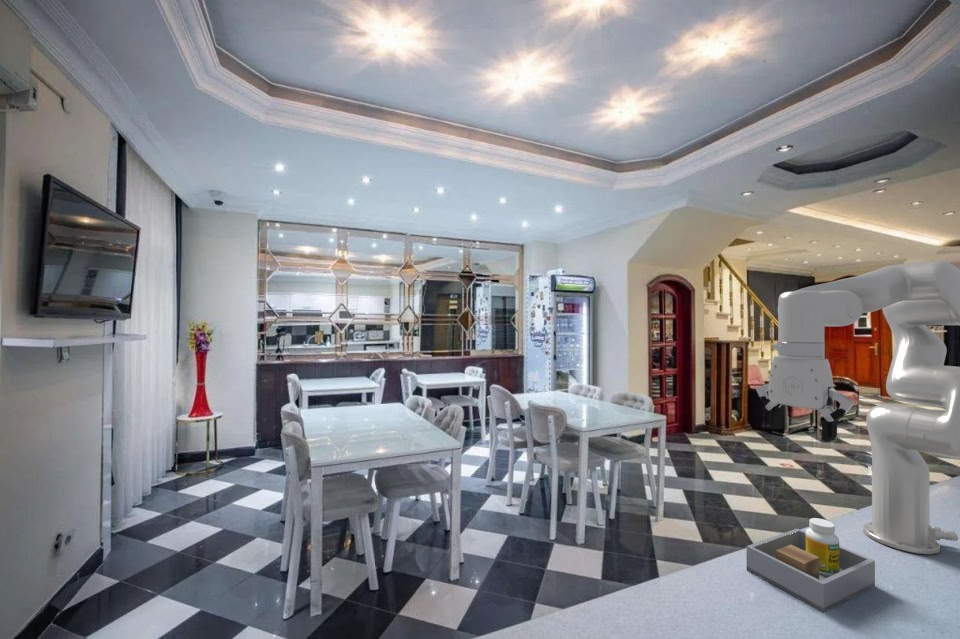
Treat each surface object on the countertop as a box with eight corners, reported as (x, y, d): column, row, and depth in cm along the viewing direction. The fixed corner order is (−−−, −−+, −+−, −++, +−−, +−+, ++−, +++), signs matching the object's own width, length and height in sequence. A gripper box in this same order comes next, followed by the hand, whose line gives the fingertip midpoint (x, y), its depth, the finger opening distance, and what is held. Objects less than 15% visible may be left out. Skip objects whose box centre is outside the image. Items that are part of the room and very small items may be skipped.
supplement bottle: (813, 559, 88) (812, 514, 88) (844, 572, 83) (844, 524, 83) (800, 566, 86) (800, 519, 86) (832, 580, 81) (831, 531, 81)
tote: (797, 550, 93) (797, 528, 93) (874, 586, 80) (874, 560, 80) (746, 570, 86) (746, 546, 86) (823, 612, 73) (823, 584, 73)
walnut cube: (790, 569, 85) (790, 544, 85) (819, 583, 80) (819, 557, 80) (775, 575, 83) (775, 550, 83) (804, 590, 78) (804, 563, 78)
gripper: (746, 348, 91) (746, 426, 91) (841, 355, 76) (841, 448, 76) (768, 347, 94) (768, 422, 94) (863, 353, 79) (863, 443, 79)
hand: (800, 434), depth 85 cm, fingers open, 9 cm apart
